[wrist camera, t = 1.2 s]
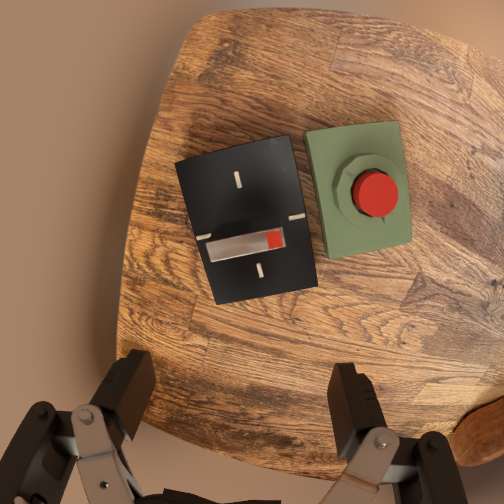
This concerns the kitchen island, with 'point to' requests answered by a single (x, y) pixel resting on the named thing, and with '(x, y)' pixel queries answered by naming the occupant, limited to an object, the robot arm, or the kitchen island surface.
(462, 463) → the bread
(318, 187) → the block
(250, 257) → the base
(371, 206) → the button
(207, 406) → the kitchen island surface
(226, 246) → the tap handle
